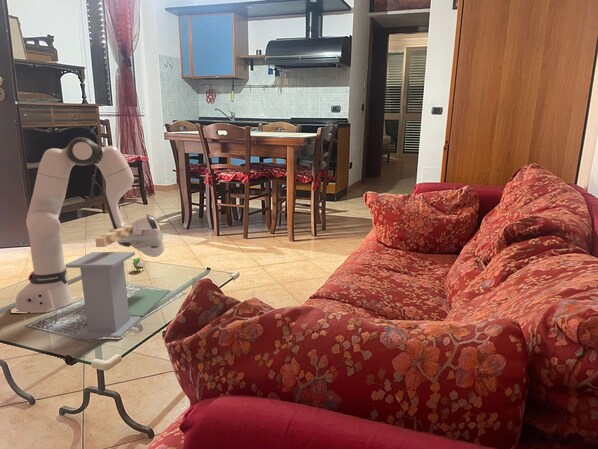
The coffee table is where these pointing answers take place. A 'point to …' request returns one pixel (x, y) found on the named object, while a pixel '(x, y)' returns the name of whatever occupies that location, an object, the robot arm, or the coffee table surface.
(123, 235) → the checkered wooden bar
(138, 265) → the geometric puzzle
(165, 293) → the mat
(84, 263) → the pedestal
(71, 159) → the robot arm
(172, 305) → the coffee table surface
